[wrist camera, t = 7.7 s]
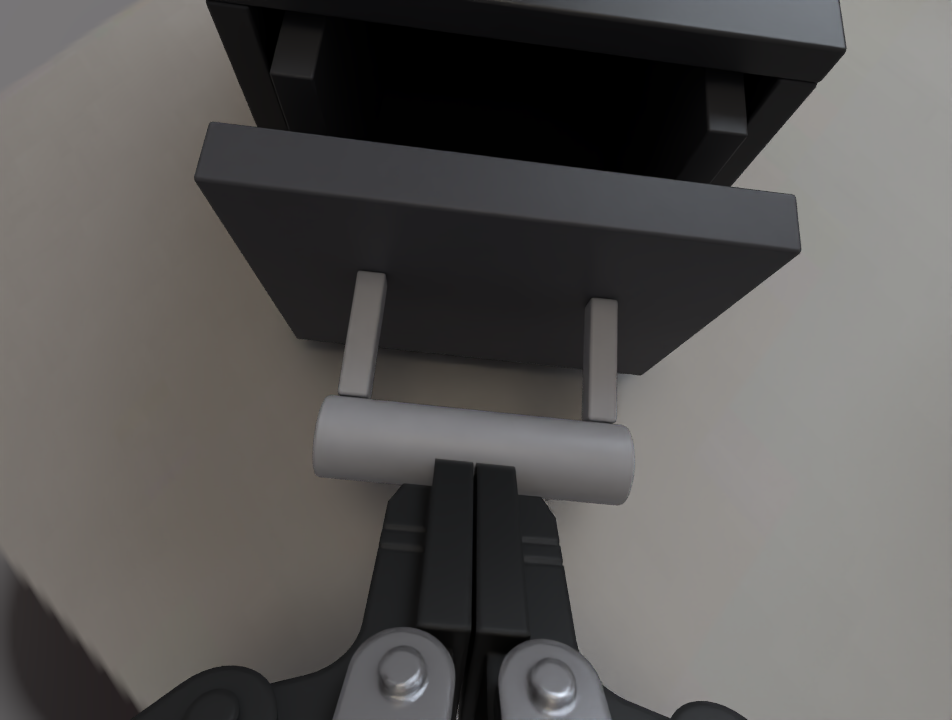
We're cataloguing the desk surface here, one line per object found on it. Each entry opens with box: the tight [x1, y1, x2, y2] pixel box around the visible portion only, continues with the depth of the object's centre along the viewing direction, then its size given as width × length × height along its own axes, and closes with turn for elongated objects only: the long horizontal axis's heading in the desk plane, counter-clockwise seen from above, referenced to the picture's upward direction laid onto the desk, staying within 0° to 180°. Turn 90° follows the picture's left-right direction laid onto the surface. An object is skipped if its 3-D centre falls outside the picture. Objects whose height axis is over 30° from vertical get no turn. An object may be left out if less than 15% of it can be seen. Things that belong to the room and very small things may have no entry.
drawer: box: [194, 10, 801, 505], centre depth 15 cm, size 17×10×8 cm, turn 175°
